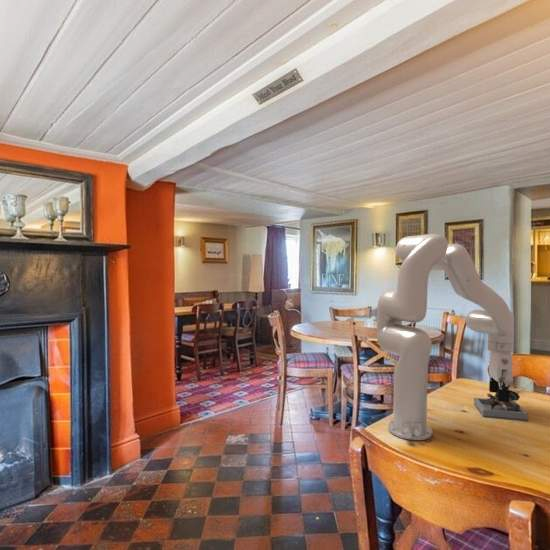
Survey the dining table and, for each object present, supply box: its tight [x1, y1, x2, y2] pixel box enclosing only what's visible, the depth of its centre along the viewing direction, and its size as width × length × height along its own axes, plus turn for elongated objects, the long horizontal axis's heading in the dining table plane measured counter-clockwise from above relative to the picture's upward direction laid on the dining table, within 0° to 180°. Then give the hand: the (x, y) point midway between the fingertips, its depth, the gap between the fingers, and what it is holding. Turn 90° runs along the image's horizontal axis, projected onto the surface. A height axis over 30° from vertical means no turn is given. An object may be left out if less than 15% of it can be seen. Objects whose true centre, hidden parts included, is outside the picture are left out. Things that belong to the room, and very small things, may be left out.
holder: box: [473, 397, 529, 422], centre depth 130 cm, size 12×13×2 cm
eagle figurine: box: [486, 390, 521, 411], centre depth 130 cm, size 8×7×9 cm
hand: (498, 396), depth 130 cm, fingers open, 9 cm apart
